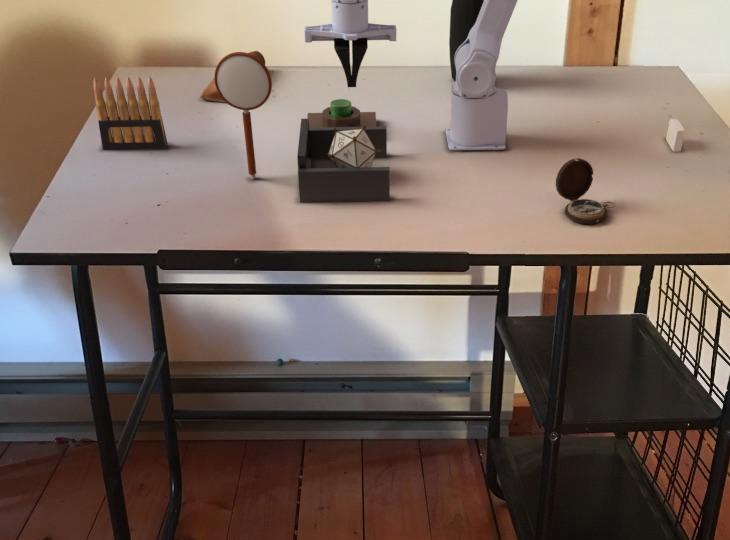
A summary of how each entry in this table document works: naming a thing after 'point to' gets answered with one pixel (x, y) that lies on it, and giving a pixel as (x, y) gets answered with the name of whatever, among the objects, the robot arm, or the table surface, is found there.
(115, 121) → the ammunition clip
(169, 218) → the table surface
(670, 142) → the eraser
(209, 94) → the sunglasses case
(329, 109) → the box
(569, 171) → the compass
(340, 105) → the button
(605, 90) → the table surface
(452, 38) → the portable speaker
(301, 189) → the cubby
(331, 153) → the game die
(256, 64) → the magnifying glass
